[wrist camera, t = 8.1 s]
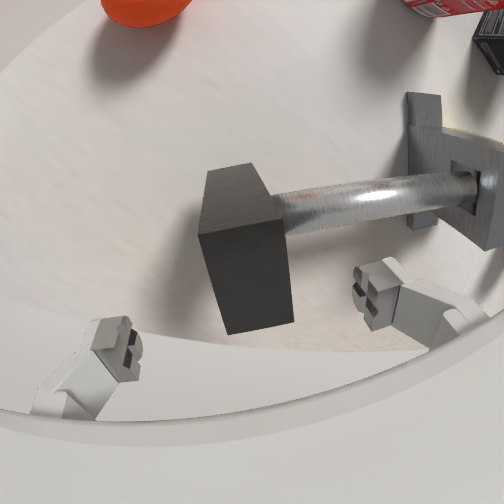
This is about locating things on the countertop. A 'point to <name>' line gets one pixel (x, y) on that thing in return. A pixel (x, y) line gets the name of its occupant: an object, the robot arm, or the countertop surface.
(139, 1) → the clementine
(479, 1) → the soda can
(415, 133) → the housing
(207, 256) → the shaft
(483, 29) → the small box
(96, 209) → the countertop surface
